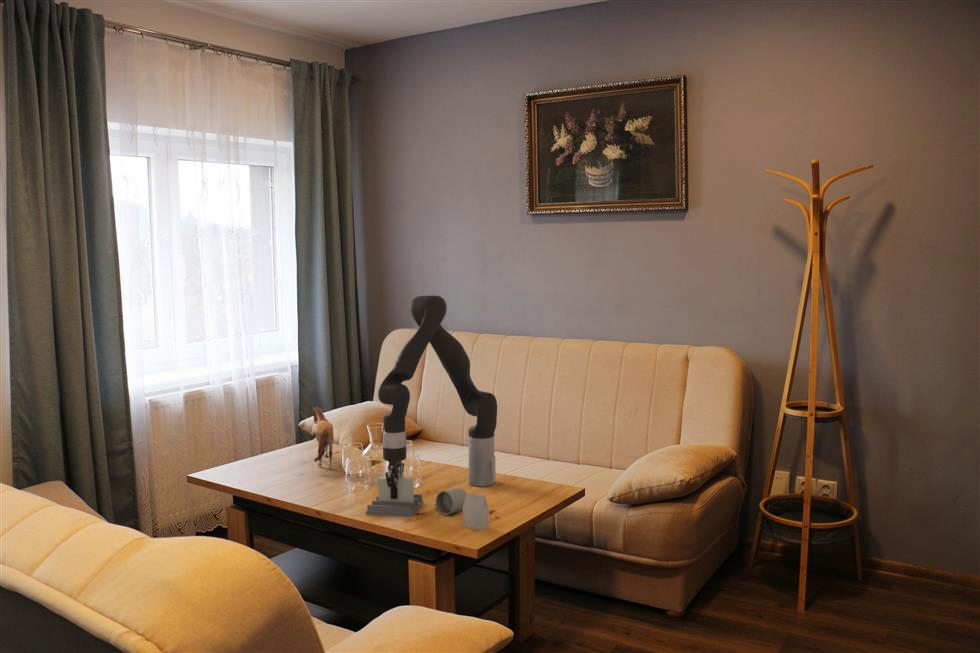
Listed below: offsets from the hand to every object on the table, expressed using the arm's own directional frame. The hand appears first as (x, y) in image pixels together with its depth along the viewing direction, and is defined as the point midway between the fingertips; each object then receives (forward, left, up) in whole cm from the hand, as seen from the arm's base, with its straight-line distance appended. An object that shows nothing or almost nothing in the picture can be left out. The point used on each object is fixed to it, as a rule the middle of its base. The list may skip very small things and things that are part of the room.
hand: (395, 497), depth 267 cm
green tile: (0, 0, -3) cm, 3 cm away
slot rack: (0, 0, -4) cm, 4 cm away
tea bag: (-29, +13, -4) cm, 32 cm away
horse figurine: (+47, -50, -4) cm, 69 cm away
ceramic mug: (-18, 0, -4) cm, 18 cm away
